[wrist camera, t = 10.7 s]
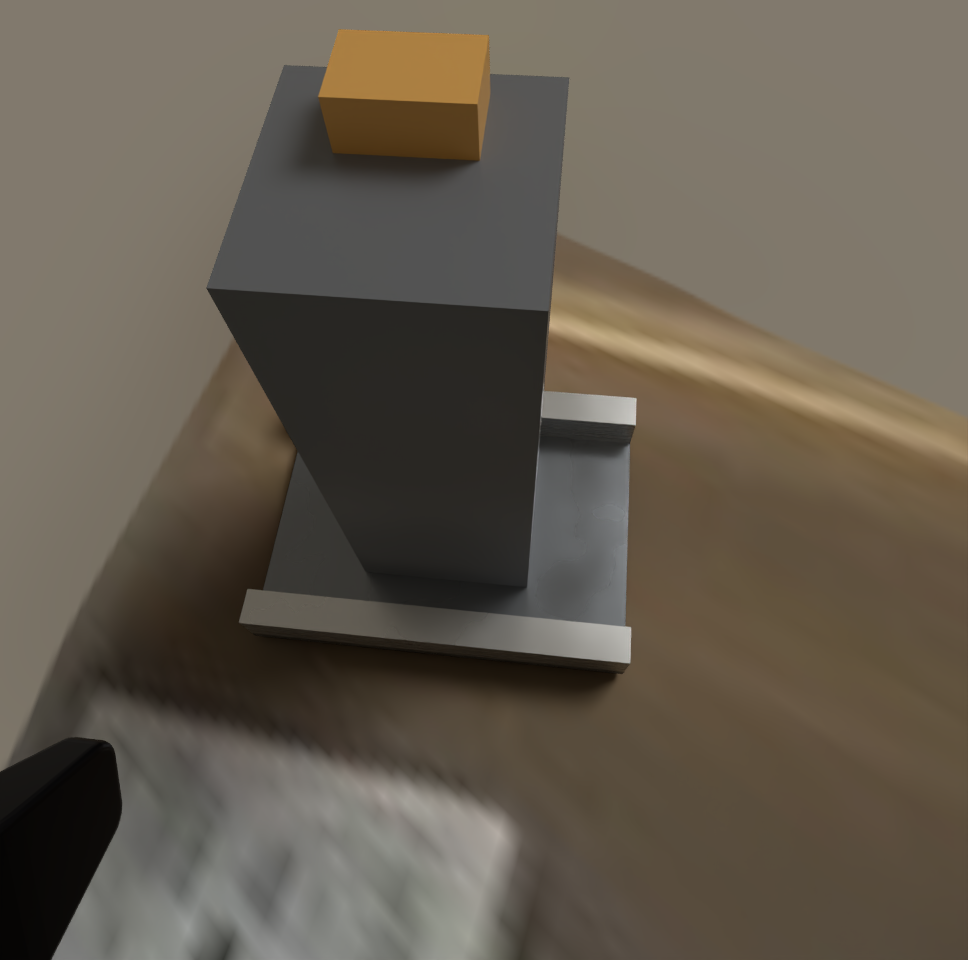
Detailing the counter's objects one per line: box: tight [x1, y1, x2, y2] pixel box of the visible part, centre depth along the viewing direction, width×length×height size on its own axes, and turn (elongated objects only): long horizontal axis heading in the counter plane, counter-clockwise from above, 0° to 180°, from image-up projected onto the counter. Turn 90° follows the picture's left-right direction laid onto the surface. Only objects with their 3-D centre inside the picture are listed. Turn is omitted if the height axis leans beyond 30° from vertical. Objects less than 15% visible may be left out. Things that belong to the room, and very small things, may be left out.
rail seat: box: [239, 391, 636, 674], centre depth 23 cm, size 8×11×2 cm
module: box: [207, 29, 569, 587], centre depth 17 cm, size 5×5×14 cm
